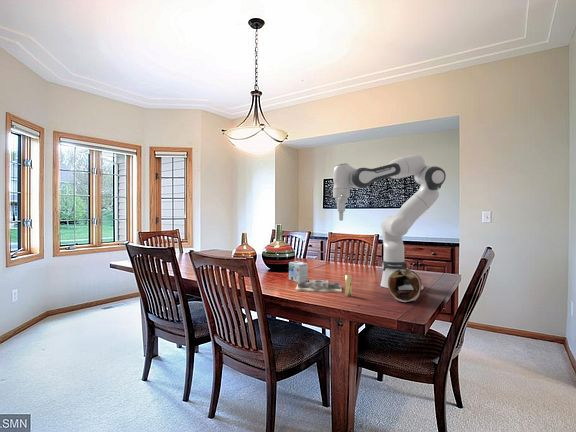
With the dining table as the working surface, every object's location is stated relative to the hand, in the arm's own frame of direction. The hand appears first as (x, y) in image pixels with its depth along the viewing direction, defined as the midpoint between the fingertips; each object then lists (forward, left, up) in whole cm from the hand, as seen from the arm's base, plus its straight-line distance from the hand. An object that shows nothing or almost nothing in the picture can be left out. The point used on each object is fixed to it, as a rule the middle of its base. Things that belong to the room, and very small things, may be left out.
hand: (341, 220), depth 182 cm
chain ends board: (+12, +2, -37) cm, 39 cm away
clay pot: (-31, +11, -37) cm, 50 cm away
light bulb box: (+25, -18, -37) cm, 48 cm away
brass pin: (-3, +14, -37) cm, 40 cm away
